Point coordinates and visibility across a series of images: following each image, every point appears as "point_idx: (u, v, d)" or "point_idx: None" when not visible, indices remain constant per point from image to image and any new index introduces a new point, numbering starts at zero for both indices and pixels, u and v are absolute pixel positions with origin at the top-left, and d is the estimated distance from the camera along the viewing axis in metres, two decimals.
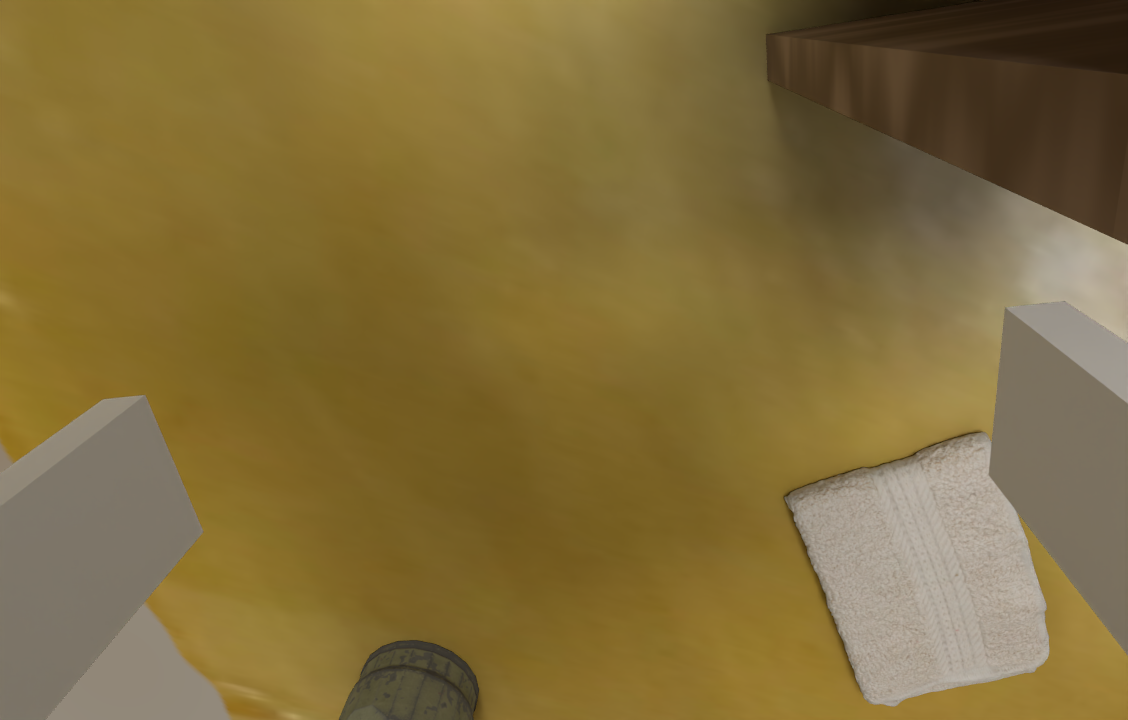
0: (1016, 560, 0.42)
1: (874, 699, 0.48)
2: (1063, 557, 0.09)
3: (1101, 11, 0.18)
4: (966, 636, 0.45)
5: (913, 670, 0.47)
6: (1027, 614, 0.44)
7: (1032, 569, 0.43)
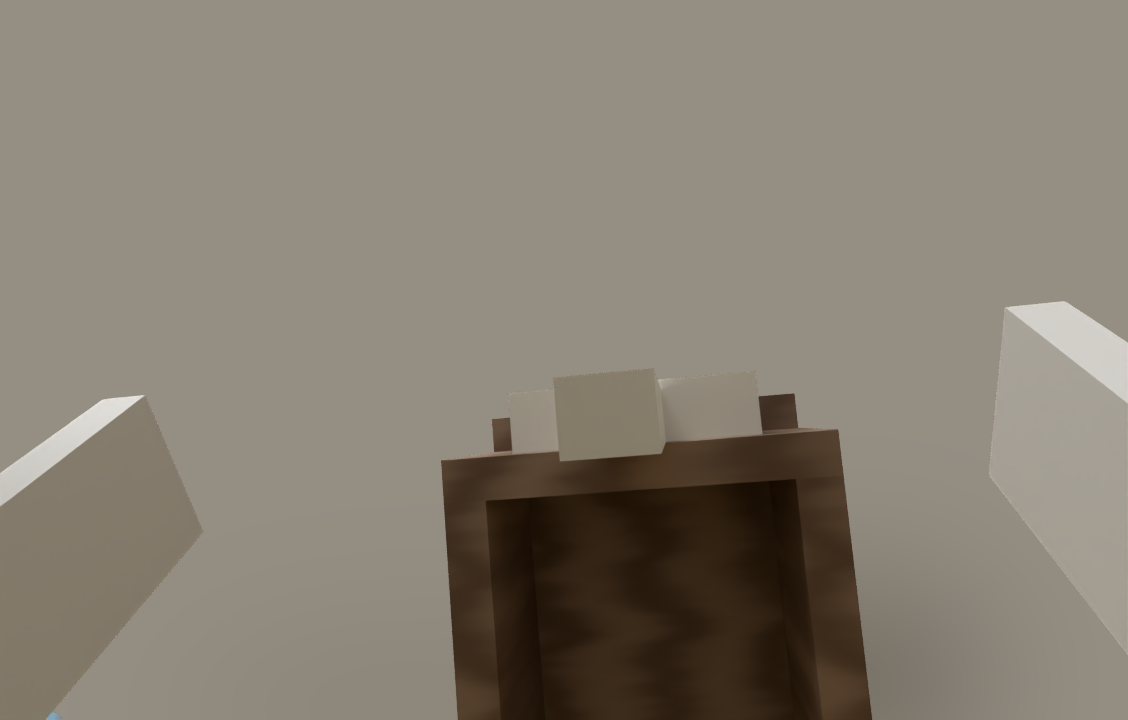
0: None
1: None
2: (1064, 557, 0.09)
3: (803, 697, 0.37)
4: None
5: None
6: None
7: None
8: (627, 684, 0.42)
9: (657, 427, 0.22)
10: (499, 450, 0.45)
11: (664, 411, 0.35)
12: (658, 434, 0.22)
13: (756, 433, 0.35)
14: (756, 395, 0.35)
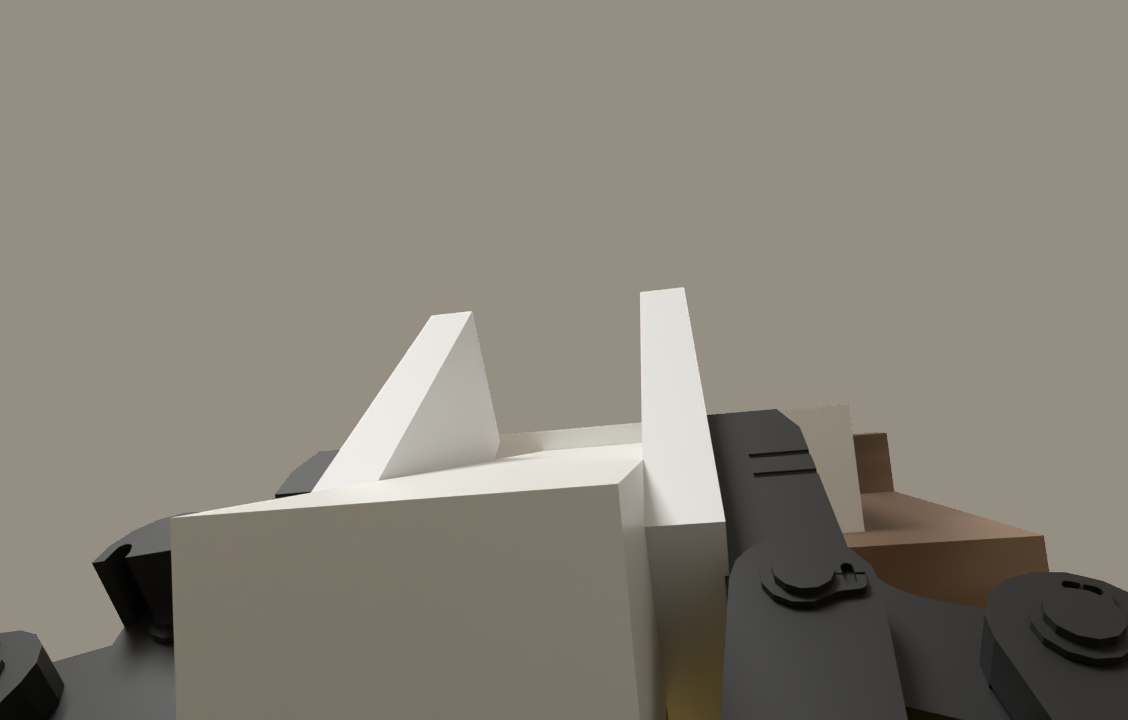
0: None
1: None
2: None
3: None
4: None
5: None
6: None
7: None
8: None
9: None
10: None
11: None
12: None
13: (852, 529, 0.17)
14: (851, 453, 0.18)
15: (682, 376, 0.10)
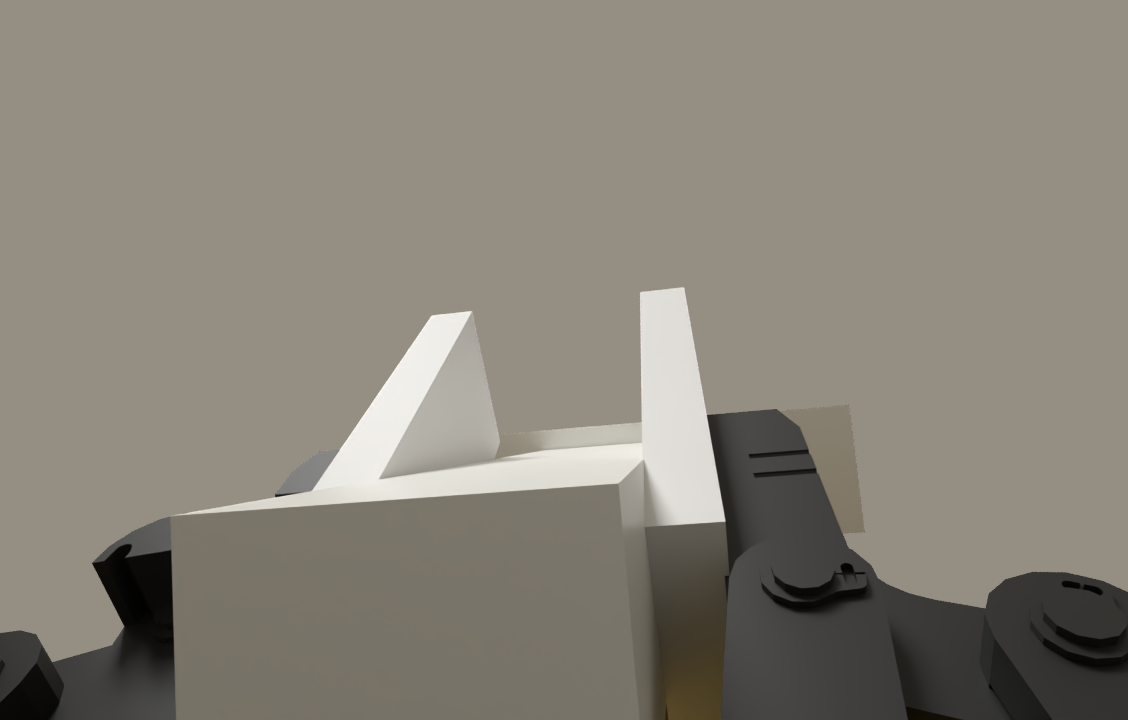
0: None
1: None
2: None
3: None
4: None
5: None
6: None
7: None
8: None
9: None
10: None
11: None
12: None
13: (852, 529, 0.17)
14: (851, 454, 0.18)
15: (682, 376, 0.10)
